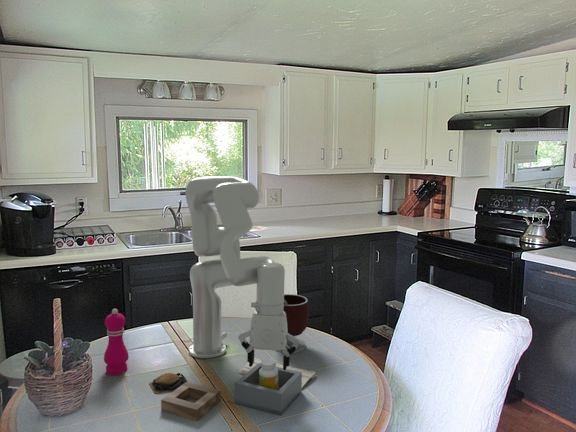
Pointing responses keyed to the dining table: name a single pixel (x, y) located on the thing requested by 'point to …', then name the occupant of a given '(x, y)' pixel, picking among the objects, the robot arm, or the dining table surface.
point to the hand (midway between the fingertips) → (268, 366)
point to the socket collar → (189, 409)
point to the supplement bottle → (268, 374)
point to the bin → (268, 391)
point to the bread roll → (167, 382)
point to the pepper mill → (115, 344)
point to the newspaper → (305, 373)
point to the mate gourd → (296, 317)
